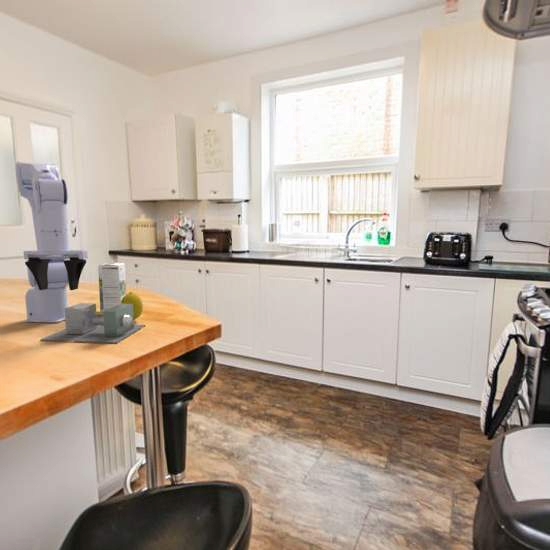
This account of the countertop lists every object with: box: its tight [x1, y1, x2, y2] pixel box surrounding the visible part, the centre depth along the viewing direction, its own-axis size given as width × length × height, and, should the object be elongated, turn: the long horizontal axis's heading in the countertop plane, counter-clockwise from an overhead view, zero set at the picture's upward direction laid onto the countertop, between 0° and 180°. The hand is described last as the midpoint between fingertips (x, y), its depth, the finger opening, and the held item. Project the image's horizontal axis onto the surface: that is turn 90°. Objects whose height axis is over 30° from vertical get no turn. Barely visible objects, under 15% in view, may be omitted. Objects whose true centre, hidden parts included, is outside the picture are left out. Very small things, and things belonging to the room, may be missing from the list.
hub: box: [64, 302, 97, 334], centre depth 91 cm, size 4×6×6 cm, turn 174°
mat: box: [40, 324, 146, 344], centre depth 91 cm, size 18×14×1 cm
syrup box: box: [97, 262, 127, 312], centre depth 109 cm, size 6×6×14 cm
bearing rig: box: [92, 304, 135, 338], centre depth 90 cm, size 8×8×6 cm
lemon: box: [121, 291, 144, 321], centre depth 101 cm, size 6×6×8 cm
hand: (58, 289), depth 90 cm, fingers open, 7 cm apart
